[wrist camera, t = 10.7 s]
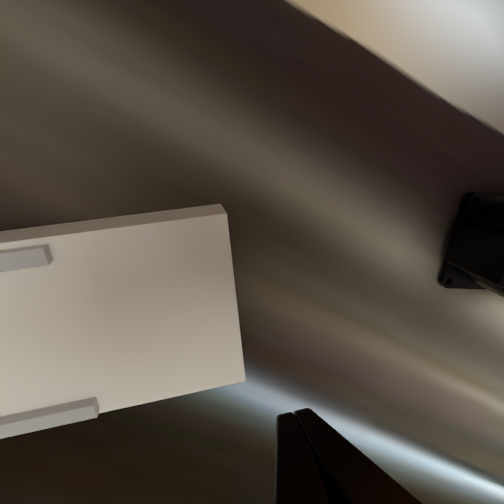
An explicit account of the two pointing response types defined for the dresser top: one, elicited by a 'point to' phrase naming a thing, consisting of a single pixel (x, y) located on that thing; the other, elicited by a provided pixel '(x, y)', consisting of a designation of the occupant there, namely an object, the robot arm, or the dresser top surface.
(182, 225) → the white slider track base
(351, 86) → the dresser top surface
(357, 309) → the dresser top surface
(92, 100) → the dresser top surface
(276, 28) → the dresser top surface
